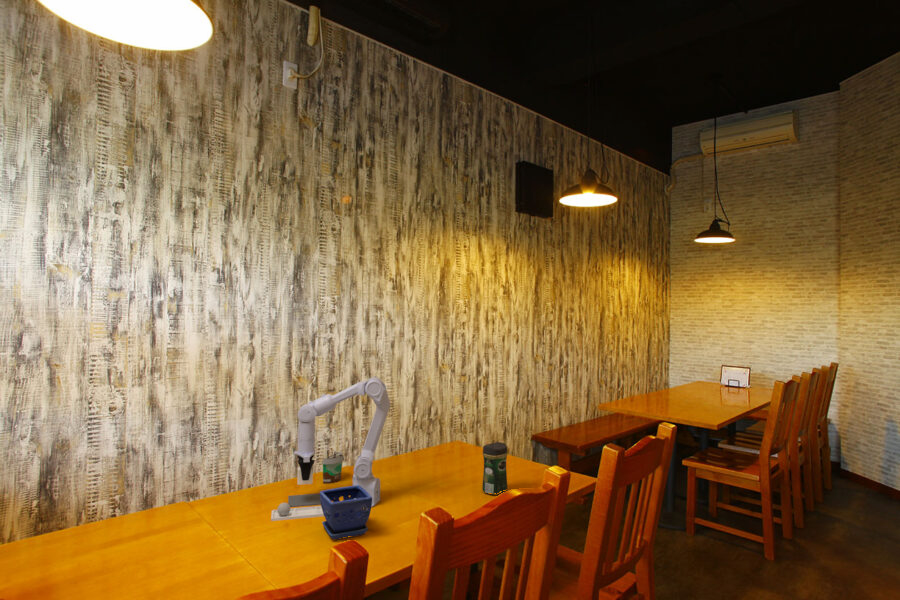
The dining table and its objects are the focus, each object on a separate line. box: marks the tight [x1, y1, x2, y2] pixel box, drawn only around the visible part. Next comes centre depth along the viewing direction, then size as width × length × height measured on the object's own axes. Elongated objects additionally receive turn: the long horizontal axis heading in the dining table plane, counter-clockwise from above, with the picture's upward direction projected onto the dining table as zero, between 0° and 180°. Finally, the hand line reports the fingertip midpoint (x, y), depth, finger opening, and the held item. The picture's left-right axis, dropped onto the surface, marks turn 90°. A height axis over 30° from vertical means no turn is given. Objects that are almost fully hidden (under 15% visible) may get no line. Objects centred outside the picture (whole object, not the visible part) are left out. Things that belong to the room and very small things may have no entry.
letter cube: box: [296, 465, 314, 486], centre depth 183 cm, size 5×5×5 cm
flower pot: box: [319, 485, 372, 540], centre depth 159 cm, size 13×13×12 cm
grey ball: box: [277, 502, 291, 516], centre depth 171 cm, size 4×4×4 cm
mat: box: [287, 492, 321, 508], centre depth 185 cm, size 11×11×1 cm
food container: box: [321, 451, 345, 485], centre depth 210 cm, size 12×6×10 cm, turn 168°
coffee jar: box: [481, 441, 508, 495], centre depth 199 cm, size 10×8×19 cm
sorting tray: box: [270, 505, 325, 522], centre depth 173 cm, size 22×8×1 cm, turn 107°
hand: (305, 477), depth 183 cm, fingers closed on letter cube, 5 cm apart
